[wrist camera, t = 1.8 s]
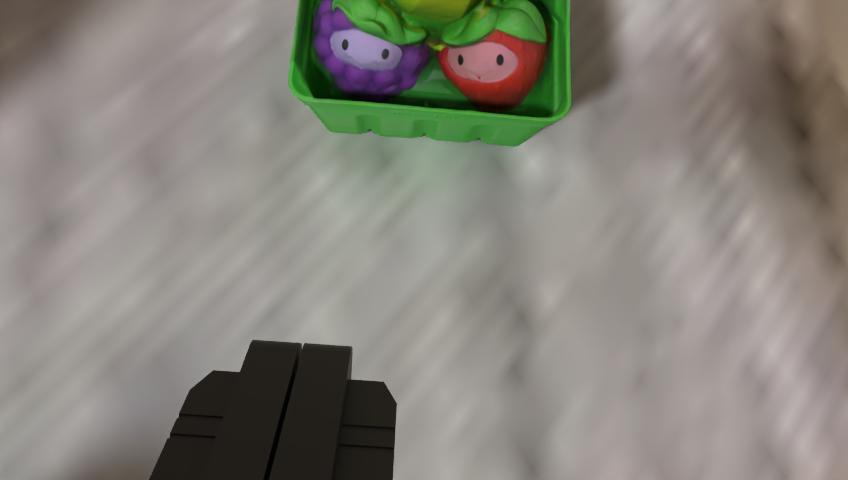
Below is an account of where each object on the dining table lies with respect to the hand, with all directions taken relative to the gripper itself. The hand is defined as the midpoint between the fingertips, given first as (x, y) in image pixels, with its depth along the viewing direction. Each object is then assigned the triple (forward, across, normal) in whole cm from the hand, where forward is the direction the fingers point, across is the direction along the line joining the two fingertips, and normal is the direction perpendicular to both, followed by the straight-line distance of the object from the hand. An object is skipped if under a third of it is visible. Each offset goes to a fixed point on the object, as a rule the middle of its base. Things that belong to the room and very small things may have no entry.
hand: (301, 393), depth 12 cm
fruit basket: (+28, -2, +2) cm, 28 cm away
